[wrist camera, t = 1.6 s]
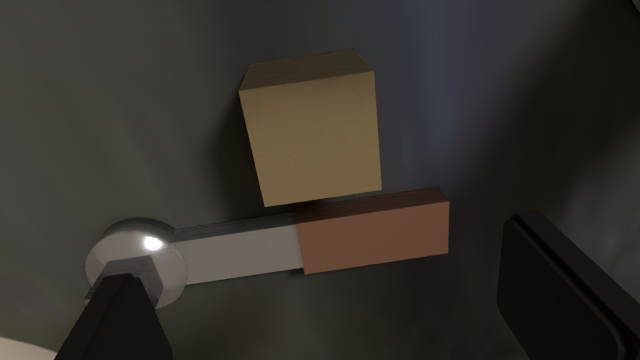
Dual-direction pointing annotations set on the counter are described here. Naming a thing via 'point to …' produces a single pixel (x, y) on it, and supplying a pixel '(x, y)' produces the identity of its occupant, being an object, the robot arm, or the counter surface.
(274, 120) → the mustard yellow cube
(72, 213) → the counter surface
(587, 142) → the counter surface
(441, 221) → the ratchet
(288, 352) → the counter surface
